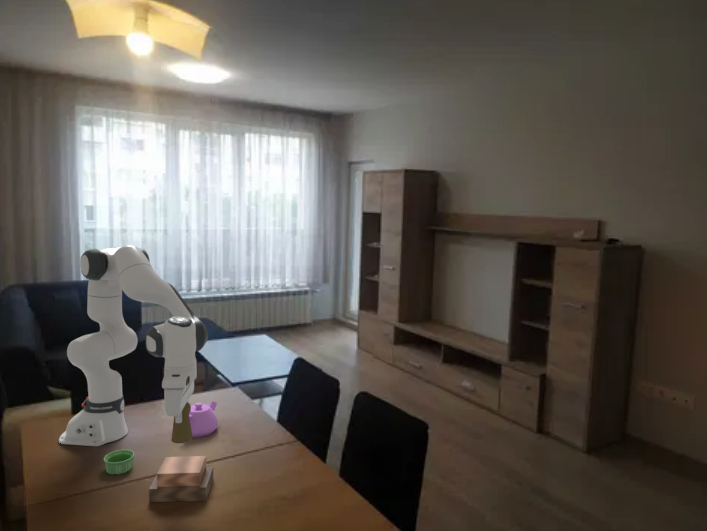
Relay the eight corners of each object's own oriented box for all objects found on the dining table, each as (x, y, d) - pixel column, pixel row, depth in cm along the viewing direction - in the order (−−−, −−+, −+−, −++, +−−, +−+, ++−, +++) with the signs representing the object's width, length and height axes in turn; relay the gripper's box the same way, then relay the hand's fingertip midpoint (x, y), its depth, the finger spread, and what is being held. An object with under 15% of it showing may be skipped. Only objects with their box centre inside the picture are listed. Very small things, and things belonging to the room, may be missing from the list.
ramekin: (104, 464, 167) (104, 452, 166) (134, 459, 170) (134, 447, 170) (103, 478, 159) (102, 464, 158) (134, 472, 162) (134, 459, 162)
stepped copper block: (149, 502, 146) (148, 475, 145) (160, 480, 158) (160, 455, 157) (206, 500, 148) (206, 474, 147) (213, 478, 160) (213, 454, 159)
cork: (186, 444, 148) (185, 408, 146) (167, 442, 149) (166, 406, 147) (196, 435, 153) (196, 400, 152) (178, 433, 155) (177, 398, 153)
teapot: (230, 422, 201) (230, 396, 200) (200, 444, 183) (199, 415, 181) (200, 417, 206) (200, 391, 205) (167, 437, 187) (167, 409, 186)
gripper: (178, 362, 159) (178, 404, 160) (160, 384, 139) (161, 433, 140) (199, 361, 159) (199, 404, 161) (183, 384, 139) (184, 432, 141)
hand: (181, 418), depth 150 cm, fingers closed on cork, 4 cm apart
